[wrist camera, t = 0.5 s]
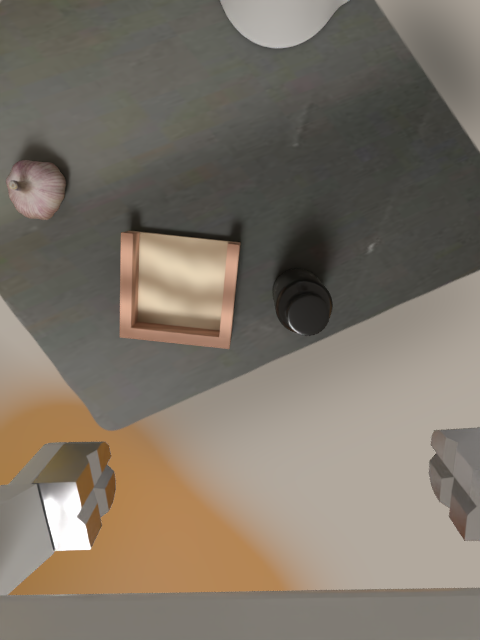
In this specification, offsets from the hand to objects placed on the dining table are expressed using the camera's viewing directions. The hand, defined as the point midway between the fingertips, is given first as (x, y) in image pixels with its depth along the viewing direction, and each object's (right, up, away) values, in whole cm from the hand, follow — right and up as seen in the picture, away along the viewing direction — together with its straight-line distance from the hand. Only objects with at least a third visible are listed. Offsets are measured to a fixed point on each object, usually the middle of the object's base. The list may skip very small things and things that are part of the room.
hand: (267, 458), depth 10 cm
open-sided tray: (-9, +8, +44) cm, 46 cm away
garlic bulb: (-27, +21, +41) cm, 53 cm away
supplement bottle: (+7, +7, +44) cm, 45 cm away
